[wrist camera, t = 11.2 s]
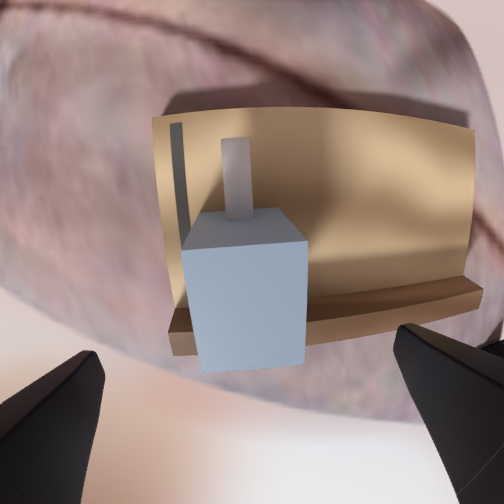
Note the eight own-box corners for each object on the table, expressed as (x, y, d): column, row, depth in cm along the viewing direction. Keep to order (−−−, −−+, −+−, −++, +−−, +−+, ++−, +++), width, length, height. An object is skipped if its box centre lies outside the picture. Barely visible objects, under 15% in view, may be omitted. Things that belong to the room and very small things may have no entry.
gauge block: (280, 295, 16) (303, 363, 11) (209, 301, 16) (201, 372, 11) (274, 138, 14) (305, 128, 8) (193, 143, 14) (169, 136, 8)
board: (448, 285, 19) (478, 308, 15) (182, 317, 18) (173, 355, 14) (460, 129, 15) (499, 130, 12) (158, 120, 14) (137, 111, 11)
